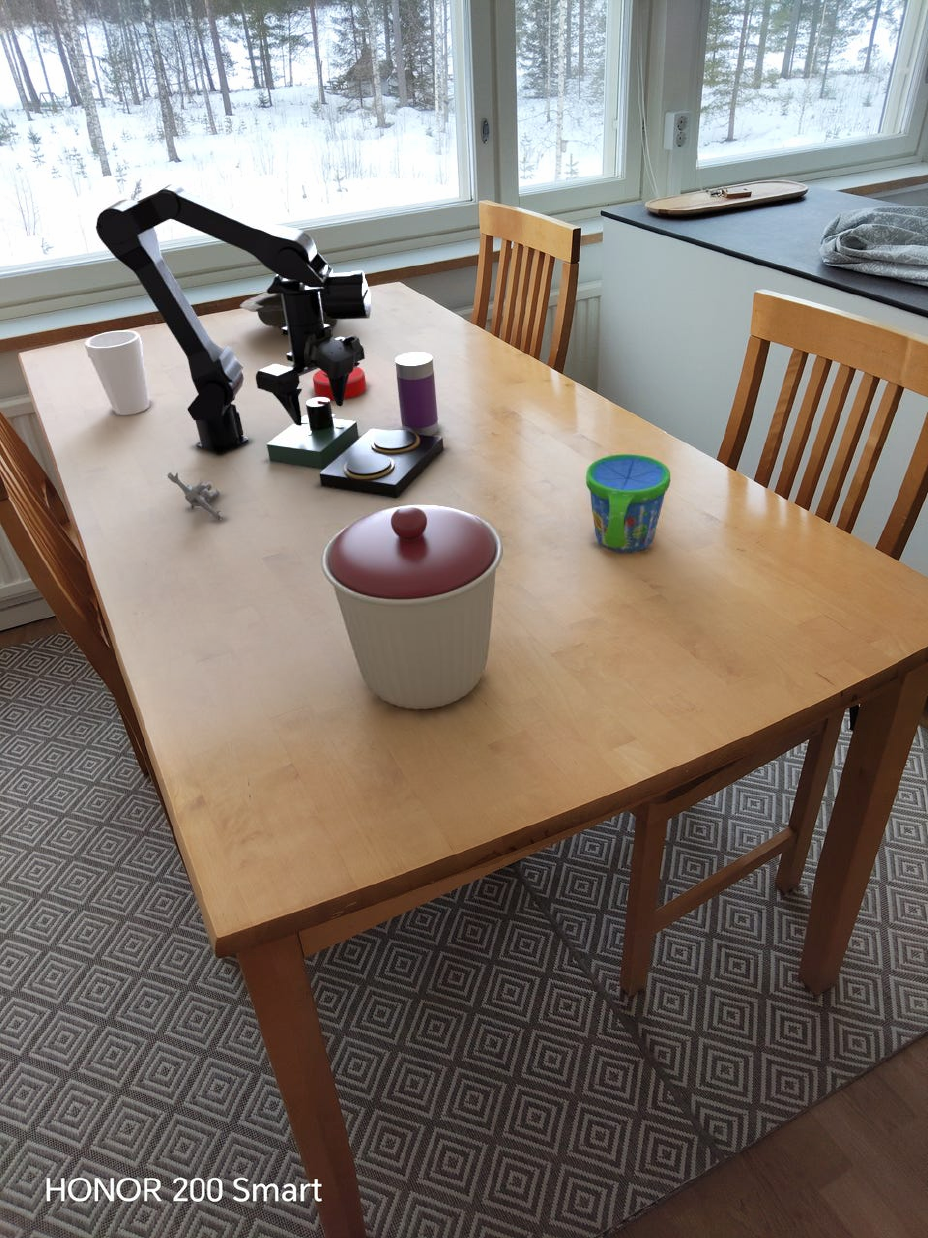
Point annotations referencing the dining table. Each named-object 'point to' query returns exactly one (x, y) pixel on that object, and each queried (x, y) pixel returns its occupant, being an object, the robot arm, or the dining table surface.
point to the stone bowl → (275, 310)
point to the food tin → (417, 393)
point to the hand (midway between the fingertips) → (319, 415)
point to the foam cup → (120, 369)
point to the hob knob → (319, 413)
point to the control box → (312, 443)
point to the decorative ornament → (353, 388)
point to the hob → (382, 462)
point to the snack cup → (626, 500)
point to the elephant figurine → (198, 494)
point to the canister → (416, 600)
